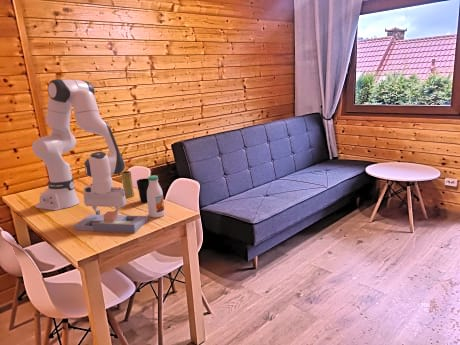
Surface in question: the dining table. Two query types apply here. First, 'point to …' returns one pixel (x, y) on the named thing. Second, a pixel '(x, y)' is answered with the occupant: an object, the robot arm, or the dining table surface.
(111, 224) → the board
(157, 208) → the milk bottle
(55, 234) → the dining table surface
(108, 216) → the block
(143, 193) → the cup
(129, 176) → the vase
